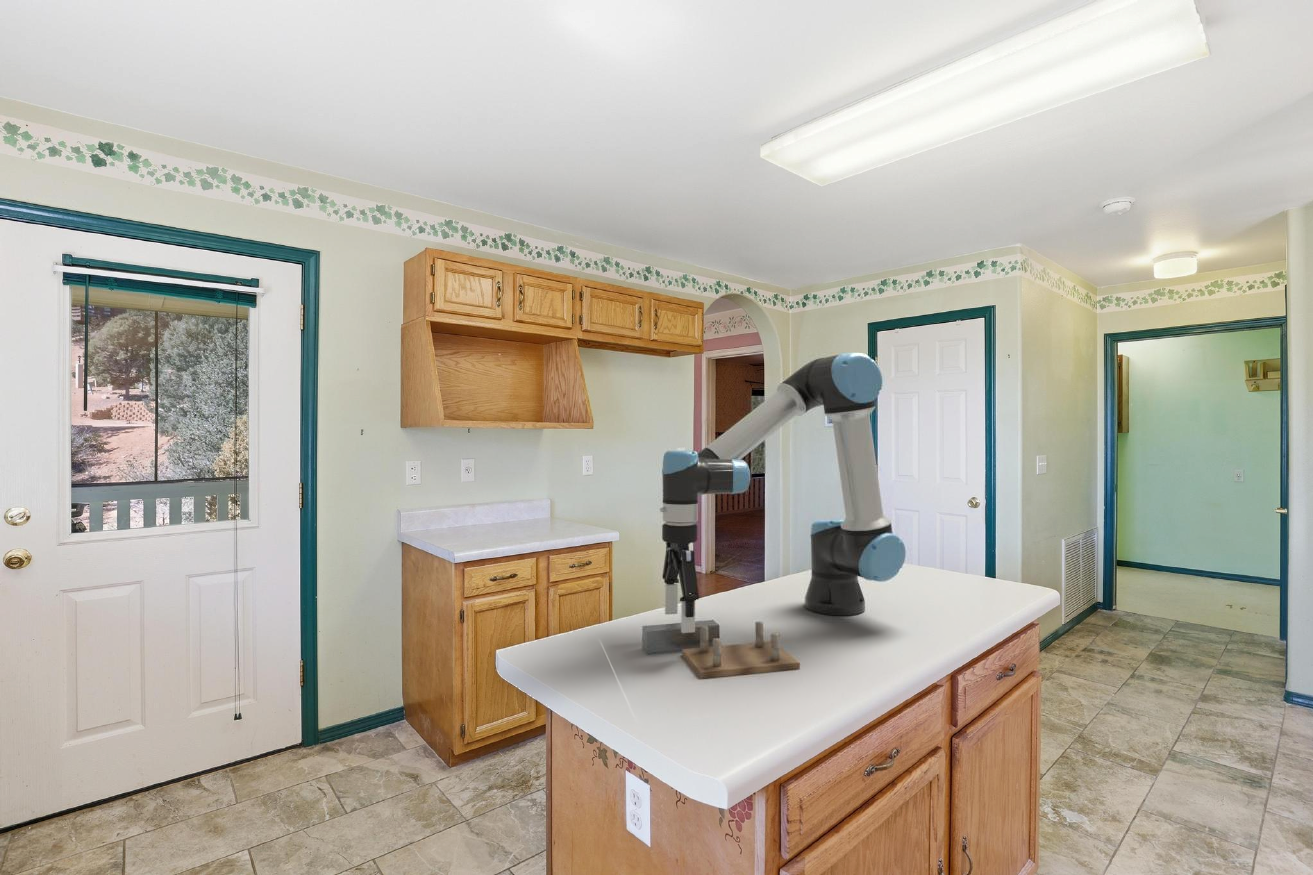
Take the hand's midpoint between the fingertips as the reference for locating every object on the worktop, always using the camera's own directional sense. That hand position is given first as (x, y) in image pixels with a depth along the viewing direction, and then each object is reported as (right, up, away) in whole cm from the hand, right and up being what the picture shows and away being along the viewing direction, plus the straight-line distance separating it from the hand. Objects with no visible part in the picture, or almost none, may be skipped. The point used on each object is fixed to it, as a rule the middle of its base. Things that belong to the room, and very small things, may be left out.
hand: (679, 622), depth 137 cm
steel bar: (0, -6, 0) cm, 6 cm away
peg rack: (+12, -5, -8) cm, 15 cm away
